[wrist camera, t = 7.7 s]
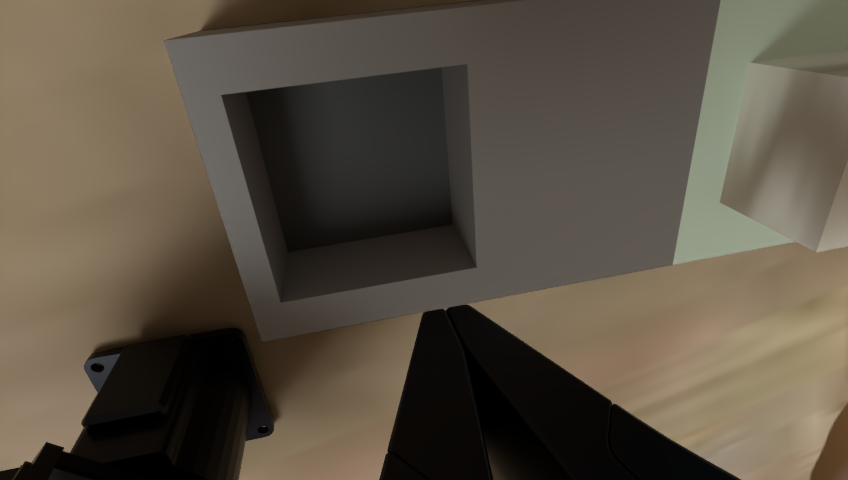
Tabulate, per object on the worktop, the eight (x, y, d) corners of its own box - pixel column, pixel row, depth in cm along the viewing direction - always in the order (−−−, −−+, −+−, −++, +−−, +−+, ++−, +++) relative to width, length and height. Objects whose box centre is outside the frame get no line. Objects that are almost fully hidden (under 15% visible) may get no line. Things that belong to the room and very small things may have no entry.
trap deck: (941, 166, 24) (1044, 194, 21) (272, 282, 20) (262, 342, 17) (1041, -61, 20) (1196, -75, 16) (200, 31, 16) (163, 40, 12)
